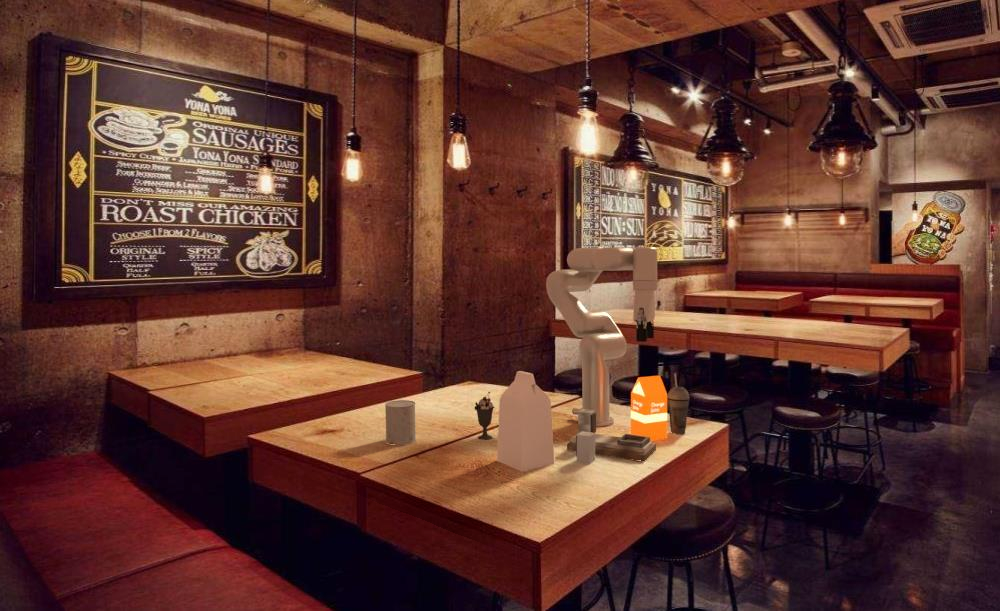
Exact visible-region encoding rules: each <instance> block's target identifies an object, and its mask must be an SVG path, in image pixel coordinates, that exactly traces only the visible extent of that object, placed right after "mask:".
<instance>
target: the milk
mask: <svg viewBox="0 0 1000 611" xmlns="http://www.w3.org/2000/svg"><path fill="white" fill-rule="evenodd" d="M506 388H507V389H505V390H504V392H503V393H502V394H501V396H500V398H499V402H498V403H499V405H498V409H499V410H498V430H497V431H498V432H497V434H498V435H497V454H496V455H497V457H496V461H497V462H499V463H502V464H504V465H506V466H508V467H511V468H513V469H515V470H518V471H520V472H522V473H523V472H527V471H531V470H534V469H538V468H543V467H547V466H551V465H554V464H555V451H554V435H553V417H552V416H553V415H552V401H551V399H550V397H549V396H548V394H547V393H546V392H544V390H542V389H541V388H540V387H539V386H538V385H537V384H536V380H535V376H534V373H532V372H526V371H522V370H519V371H516V373H515V376H514V380H513V381H512V382H511V384H509V386H508V387H506Z"/></svg>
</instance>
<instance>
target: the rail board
mask: <svg viewBox="0 0 1000 611" xmlns="http://www.w3.org/2000/svg"><path fill="white" fill-rule="evenodd" d="M582 431H584V432H591V433H595V456H596V455H597V456H603V457H612V458H617V459H622V458H624V459H623V460H629V459H633V460H632V461H636V460H641V461H640V462H642V461H645V460H646V459H647V458H648V457H649V456H650V455H651V454H652V453H653V452H654V451H655V452H656V451H657V443H653V442H654V441H650V437H646V436H639V435H631V433H624V434H623V435H622V436H621V437H620V436H614V435H607V434H605V435H604V434H599V433H596V432H597V426H596V413H595V410H587V409H582V410H580V411H579V412H578V415H577V434H579V433H580V432H582ZM577 434H576V435H573V437H571V438H570V441H569V442H567V443H566V451H571V452H576V436H577ZM655 452H654V453H655ZM654 453H653V454H654ZM653 454H652V455H653ZM652 455H651V456H652ZM651 456H650V457H651ZM650 457H649V458H650ZM649 458H648V459H649ZM648 459H647V460H648ZM647 460H646V461H647ZM646 461H645V462H646Z"/></svg>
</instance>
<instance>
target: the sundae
mask: <svg viewBox="0 0 1000 611" xmlns="http://www.w3.org/2000/svg"><path fill="white" fill-rule="evenodd" d="M489 394H491V391H488V393H487V394H486V395H485V396H483V397H482V398H481V399H480V400H479V401H478V402H477V401H476V402H475V403H474V404H475V406H474V410H476V414H477V422H478V424H479V425H480V427H481V428H482V435H478V436H477V439H479V440H483V441H485V440H486V441H487V440H491V439H493V436H492V435H490V434H488V430H487V429H488V428H487V427H489V426H490V425H491V424H492V418H493V410H494V409H495V408H496V406H494V404H493V402H492V401H491V400H492V399H491V398H490V397H488V398H487V396H489Z"/></svg>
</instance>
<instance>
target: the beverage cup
mask: <svg viewBox="0 0 1000 611" xmlns="http://www.w3.org/2000/svg"><path fill="white" fill-rule="evenodd" d="M673 375H674V383H675V384H674V385H675V386H673V387H672V388H670V390H669V391H668V393H667V405H668V412H669V413H668V414H669V427H670V433H671V432H672V433H671V434H673V433H675V434H674V435H685V434H686V428H687V418H688V410H689V404H690V395H689V391H688V390H687V388H685V387H683V386H679V385H678V380H677V372H675V373H674V374H673ZM684 433H685V434H684Z"/></svg>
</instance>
